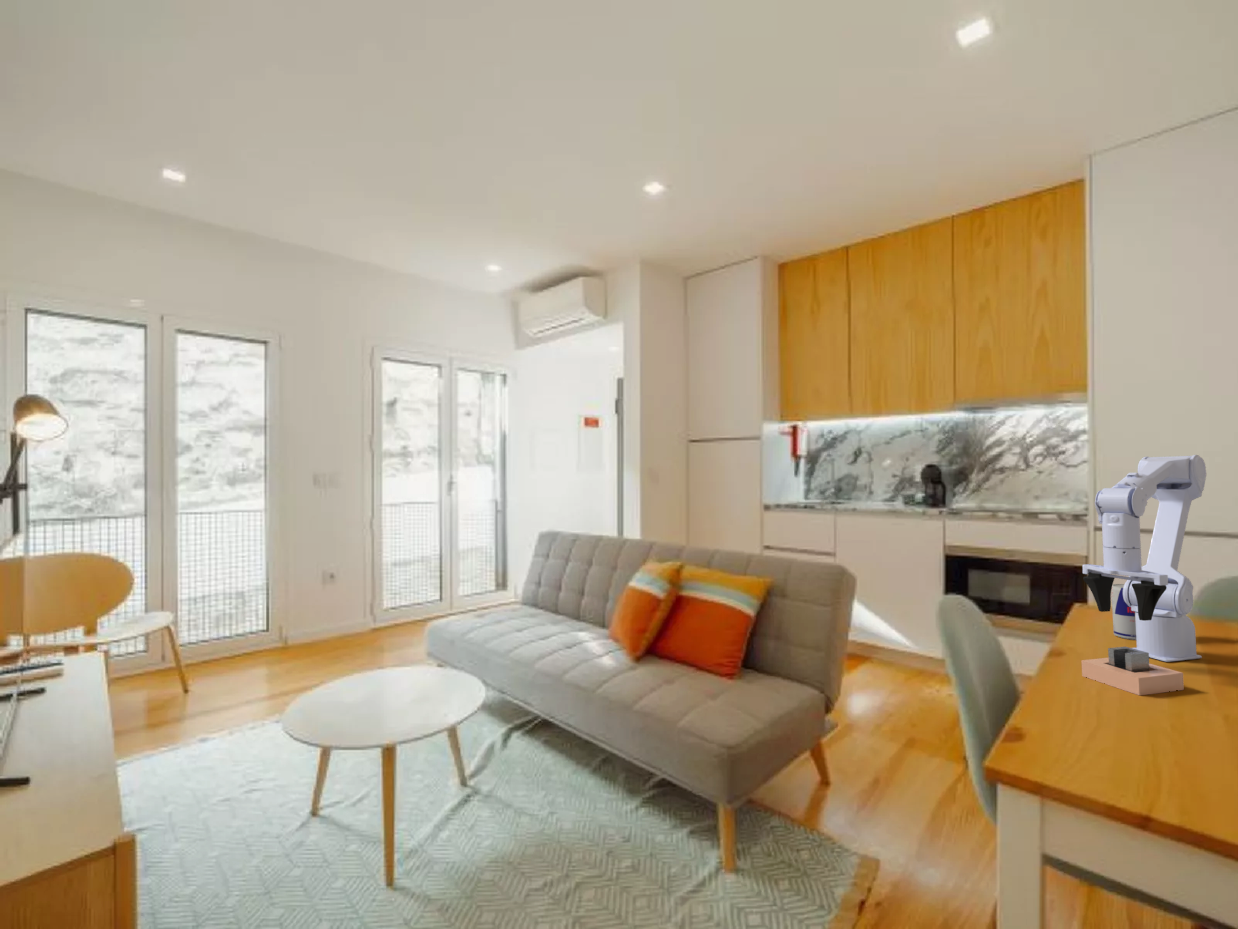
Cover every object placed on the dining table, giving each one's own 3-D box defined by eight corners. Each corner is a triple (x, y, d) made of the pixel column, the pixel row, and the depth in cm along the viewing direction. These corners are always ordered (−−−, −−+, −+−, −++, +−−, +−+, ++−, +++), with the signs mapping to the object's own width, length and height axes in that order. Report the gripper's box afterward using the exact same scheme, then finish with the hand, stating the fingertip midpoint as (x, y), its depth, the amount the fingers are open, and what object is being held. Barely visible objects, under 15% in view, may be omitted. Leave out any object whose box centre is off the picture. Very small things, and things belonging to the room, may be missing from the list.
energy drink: (1138, 641, 129) (1135, 589, 129) (1109, 636, 134) (1106, 585, 134) (1148, 638, 131) (1146, 586, 132) (1119, 632, 136) (1117, 583, 136)
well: (1123, 671, 110) (1123, 655, 110) (1183, 689, 101) (1183, 672, 101) (1082, 676, 108) (1081, 660, 108) (1139, 695, 99) (1138, 678, 99)
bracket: (1126, 678, 107) (1125, 646, 107) (1150, 685, 103) (1148, 652, 103) (1109, 680, 106) (1108, 648, 106) (1132, 687, 102) (1130, 654, 102)
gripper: (1069, 544, 119) (1072, 608, 119) (1145, 552, 105) (1149, 625, 105) (1096, 543, 121) (1099, 606, 120) (1175, 551, 106) (1178, 623, 106)
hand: (1124, 615), depth 112 cm, fingers open, 7 cm apart
